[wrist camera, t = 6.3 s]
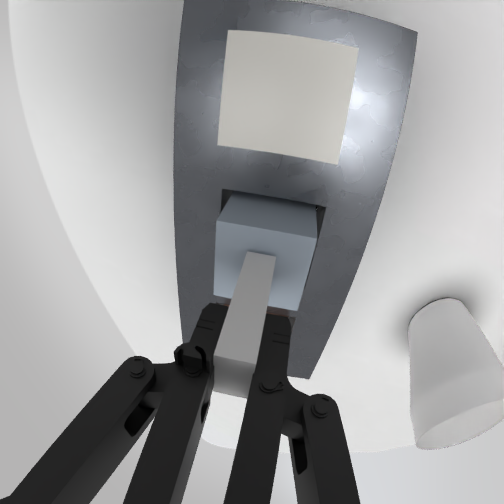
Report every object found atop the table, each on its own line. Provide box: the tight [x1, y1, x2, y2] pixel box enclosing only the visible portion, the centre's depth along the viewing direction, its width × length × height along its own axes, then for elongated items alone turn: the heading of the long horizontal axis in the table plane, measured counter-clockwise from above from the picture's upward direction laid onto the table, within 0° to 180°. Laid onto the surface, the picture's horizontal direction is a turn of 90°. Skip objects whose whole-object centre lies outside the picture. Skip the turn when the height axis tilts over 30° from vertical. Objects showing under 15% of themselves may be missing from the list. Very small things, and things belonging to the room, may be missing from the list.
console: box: [174, 0, 418, 379], centre depth 20 cm, size 28×12×4 cm, turn 174°
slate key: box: [214, 190, 317, 311], centre depth 18 cm, size 5×5×5 cm
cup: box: [408, 298, 504, 450], centre depth 20 cm, size 9×9×12 cm
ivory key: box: [217, 30, 359, 165], centre depth 12 cm, size 5×5×5 cm
